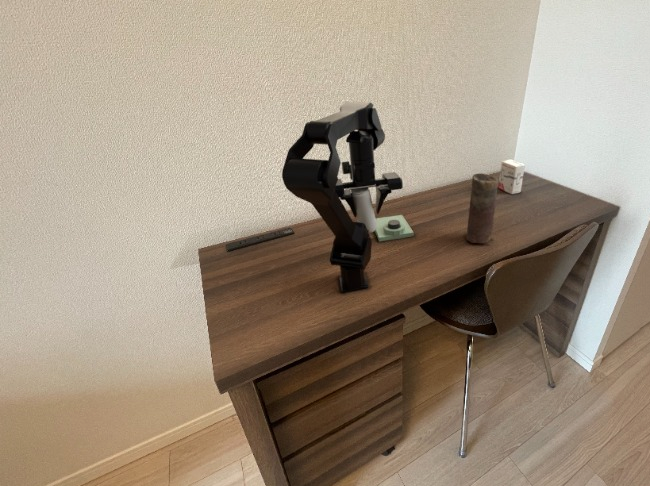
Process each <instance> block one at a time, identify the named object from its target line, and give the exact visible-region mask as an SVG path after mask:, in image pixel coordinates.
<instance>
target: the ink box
mask: <svg viewBox="0 0 650 486" xmlns="http://www.w3.org/2000/svg"><path fill="white" fill-rule="evenodd" d="M525 166H526V164H524V163H522V162H519V161H517V160H514V159H506V160H501V165H500V170H499V171H500V172H499V178H498V188H497V189H499V190H502V191H503V192H506V193H508V194H510V195H515V194H520V193H521V191H522V186H523V181H524V180H523V179H524V174H525Z"/></svg>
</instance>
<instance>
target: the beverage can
mask: <svg viewBox="0 0 650 486" xmlns="http://www.w3.org/2000/svg"><path fill="white" fill-rule="evenodd" d="M369 188H370V187H369ZM369 188H362V189H354V190H351V194H352V197H353V201H354V206H355V210H356V217H355V218H356V220H357V221H356V222H361V223H364V224H365V225H366V228H367V230H369V232H368V233H369V234H372V233H375V230H376V229H377V223H376V212H375V210H374V204H373V200H372V199H373V198H372V195H371V191H370V189H369Z"/></svg>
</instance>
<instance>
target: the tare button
mask: <svg viewBox="0 0 650 486" xmlns="http://www.w3.org/2000/svg"><path fill="white" fill-rule="evenodd" d="M388 228H389V229H398V228H400V222H399V221H398V220H390V221H389V222H388Z"/></svg>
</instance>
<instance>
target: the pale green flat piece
mask: <svg viewBox="0 0 650 486" xmlns="http://www.w3.org/2000/svg"><path fill="white" fill-rule="evenodd" d="M375 218H376V217H375ZM390 220H398V221H399V222H400V228H398V229H389V228H388V222H389V221H390ZM376 223H377V229H376V230H375V231H374V233H375V235H376V237H377V239H378V242H385V241H386V242H387V241H392V240H398V239H399V240H400V239H405V238H412V237H414V236H415V233H414V231H413V230H412V228H411V226H410V225H409V223H408V221H407V220H406V219H405V216H403V214H399V215H392V216H391V215H390V216H383V217H377V218H376Z"/></svg>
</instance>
